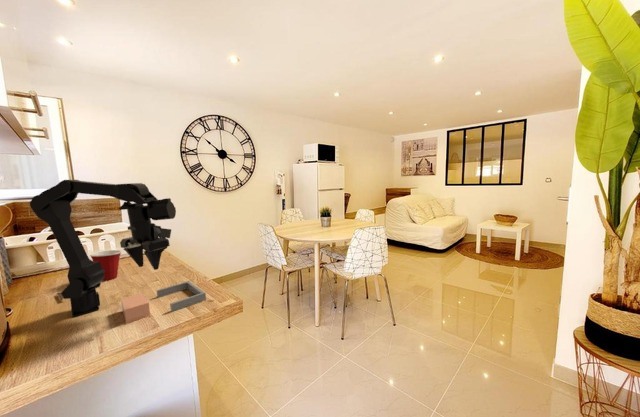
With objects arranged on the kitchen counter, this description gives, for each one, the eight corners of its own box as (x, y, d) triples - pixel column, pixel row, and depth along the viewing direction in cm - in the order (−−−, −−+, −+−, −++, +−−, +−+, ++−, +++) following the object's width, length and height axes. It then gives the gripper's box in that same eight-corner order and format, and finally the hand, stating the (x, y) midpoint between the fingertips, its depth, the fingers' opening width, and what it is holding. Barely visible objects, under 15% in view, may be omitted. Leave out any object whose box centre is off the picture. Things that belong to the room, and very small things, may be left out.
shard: (61, 304, 90) (61, 299, 90) (39, 305, 90) (38, 300, 89) (87, 290, 101) (87, 286, 100) (67, 291, 100) (67, 287, 100)
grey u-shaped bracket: (171, 311, 82) (171, 304, 82) (157, 296, 93) (156, 290, 93) (206, 299, 90) (205, 292, 90) (189, 287, 101) (188, 281, 101)
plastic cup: (130, 274, 116) (127, 249, 114) (104, 284, 105) (101, 256, 104) (113, 272, 119) (110, 247, 117) (86, 281, 108) (82, 254, 107)
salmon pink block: (126, 323, 76) (124, 309, 76) (122, 311, 84) (121, 298, 83) (150, 316, 80) (148, 302, 80) (144, 305, 88) (143, 292, 87)
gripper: (181, 217, 85) (188, 262, 87) (150, 217, 94) (157, 257, 96) (145, 224, 76) (154, 274, 78) (115, 223, 85) (124, 268, 87)
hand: (148, 267), depth 85 cm, fingers open, 9 cm apart
